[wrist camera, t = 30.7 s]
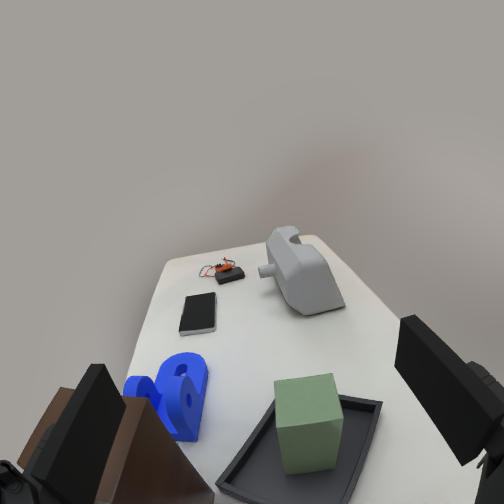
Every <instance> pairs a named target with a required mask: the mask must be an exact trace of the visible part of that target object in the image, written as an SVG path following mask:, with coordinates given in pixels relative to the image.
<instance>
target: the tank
mask: <svg viewBox="0 0 504 504" xmlns="http://www.w3.org/2000/svg"><path fill="white" fill-rule="evenodd" d="M298 234H300V232H299V231H298V230H297V229H296V228H295V227H294V226H293V225H291V226H285V227H280V228H276V229H275V230H274V231H273V233H272V235H271V236H270V238H269V239H268V241H267V242H266V248H267V255H268V262H269V265H266V266H262V267H258V269H259V275H260V278H266V277H272V276H275V278H276V280H277V283H278V285H279V287H280V289H281V291H282V293H283V295H284V298H285V300H286V302H287V304H289V305H290V306H291V307H293V308H294V309H296V310H297V311H299V312H300V313H301V314H303V315H304V316H307V315H312V314H316V313H320V312H324V311H328V310H332V309H336V308H340V307H344V306H346V305H345V302H344V300H343V298H342V295H341V293H340V291H339V288H338V286H337V284H336V281H335V279H334V277H333V275H332V272H331V270H330V268H329V265H328V263H327V262H326V260H325V258H324V257H323V256H322V254H321V253H320V252H319V251H318V250H317V249H316V248H315V247H314V246H313V245H310V244H302V243H301V241H300V239H299V237H298Z"/></svg>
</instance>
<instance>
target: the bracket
mask: <svg viewBox="0 0 504 504" xmlns="http://www.w3.org/2000/svg"><path fill="white" fill-rule="evenodd" d="M184 372H186V376H180V375H181V374H182V373H184ZM207 379H208V369H207V366H206V363H205V361H204V359H203V358H202V357H201V356H200V355H198V354H195V353H190V352H186V353H180V354H176V355H174V356H171V357H170V358H168V359H167V360H166V361H164V362H163V364H162V365H161V367H160V369H159V372H158V375H157V378H156V380H155V383H153V381H152V380H151V378H149V377H148V376H131V377H129V378H128V379H127V381H126V383H125V385H124V389H123V396H133V397H147V398H148V399H149V401H150V402H151V404H152V406H153V407H154V409H155V411H156V412H157V414H158V416H159V417H160V419H161V420H162V422H163V424H164V425H165V427H166V428H167V430H168V431H169V433H170V434H171V436H172V437H173V439H174V440H175V441H193V442H197V440H198V433H199V427H200V421H201V415H202V409H203V403H204V397H205V391H206V385H207Z"/></svg>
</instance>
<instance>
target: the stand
mask: <svg viewBox="0 0 504 504" xmlns="http://www.w3.org/2000/svg"><path fill="white" fill-rule="evenodd" d="M74 391H75V389H69V388H63V387H60V388H59V390H58V392H57V393H56V395H55V396H54V398H53V400H52V401H51V403H50V405H49V406H48V408H47V409H46V411H45V413H44V414H43V416H42V418H41V419H40V421H39V423H38V425H37V426H36V428H35V430H34V432H33V434H32V435H31V437H30V439H29V441H28V443H27V444H26V446H25V448H24V450H23V452H22V454H21V455H20V458H19V459H18V461H17V464H18V465H19V466H20V467H21V468H22V469H25V467H26V465H27V463H28V461H29V459H30V457H31V456H32V454H33V452H34V450H35V448H37V447H36V446H37V444H38V442H39V441H40V439H41V437H42V435H43V433H44V431H45V430H46V429H47V428H48V427H49V426H50V425H51V424H52V423H54V424H56V422H57V421H58V419H59V417H60V415H61V413H62V412H63V410H64V408H65V406H66V405H67V403H68V401H69V399H70V398H71V396H72V394H73V393H74ZM121 397H122V399H123V400H124V402H125V404H126V406H127V407H126V410H125V412H124V415H123V418H122V420H121V423H120V426H119V429H118V431H117V434H116V437H115V440H114V443H113V446H112V448H111V451H110V454H109V457H108V460H107V463H106V466H105V469H104V472H103V475H102V479H101V482H100V485H99V488H98V491H97V495H96V498H95V501H94V504H213V501H214V492H213V491H212V489H211V488H210V487H209V486H208V485H207V483H206V482H205V481H204V480H203V478H202V477H201V476H200V474H199V473H198V472H197V471H196V469H195V468H194V467H193V465H192V464H191V463H190V461H189V460H188V459H187V457H186V456H185V454H184V453H183V452H182V450H181V449H180V447H179V446H178V445H177V443H176V442H175V440H174V439H173V437H172V436H171V434H170V433H169V431H168V430H167V428H166V427H165V425H164V424H163V422H162V420H161V419H160V417H159V416H158V414H157V412H156V411H155V409H154V407H153V406H152V404H151V402H150V401H149V399H148V398H147V397H133V396H122V395H121Z"/></svg>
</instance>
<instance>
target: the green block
mask: <svg viewBox="0 0 504 504" xmlns="http://www.w3.org/2000/svg"><path fill="white" fill-rule="evenodd" d="M274 390H275V412H276V429H277V435H278V441H279V446H280V452H281V457H282V463H283V468H284V474H285V475H293V474H302V473H309V472H316V471H323V470H329V469H334V468H335V465H336V460H337V455H338V450H339V444H340V438H341V432H342V426H343V419H344V417H343V413H342V408H341V405H340V401H339V397H338V393H337V389H336V385H335V381H334V377H333V374H332V373H329V374H323V375H317V376H310V377H303V378H295V379H287V380H278V381H274Z"/></svg>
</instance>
